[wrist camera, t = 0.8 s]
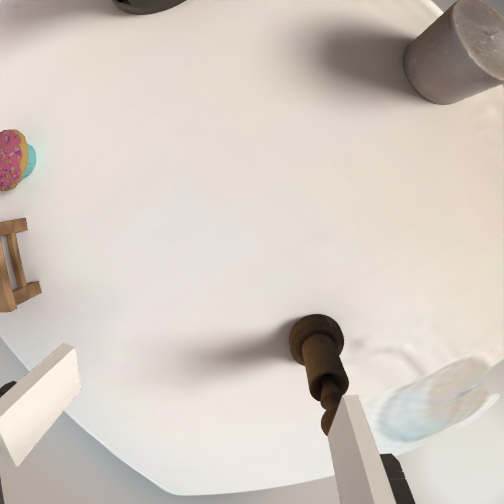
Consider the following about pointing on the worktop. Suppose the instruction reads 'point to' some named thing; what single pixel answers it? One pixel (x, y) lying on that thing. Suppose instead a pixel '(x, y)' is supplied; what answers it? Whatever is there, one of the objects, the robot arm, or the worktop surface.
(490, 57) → the pillar candle
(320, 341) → the brown chess pawn
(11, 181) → the cupcake
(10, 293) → the walnut stool
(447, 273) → the worktop surface
